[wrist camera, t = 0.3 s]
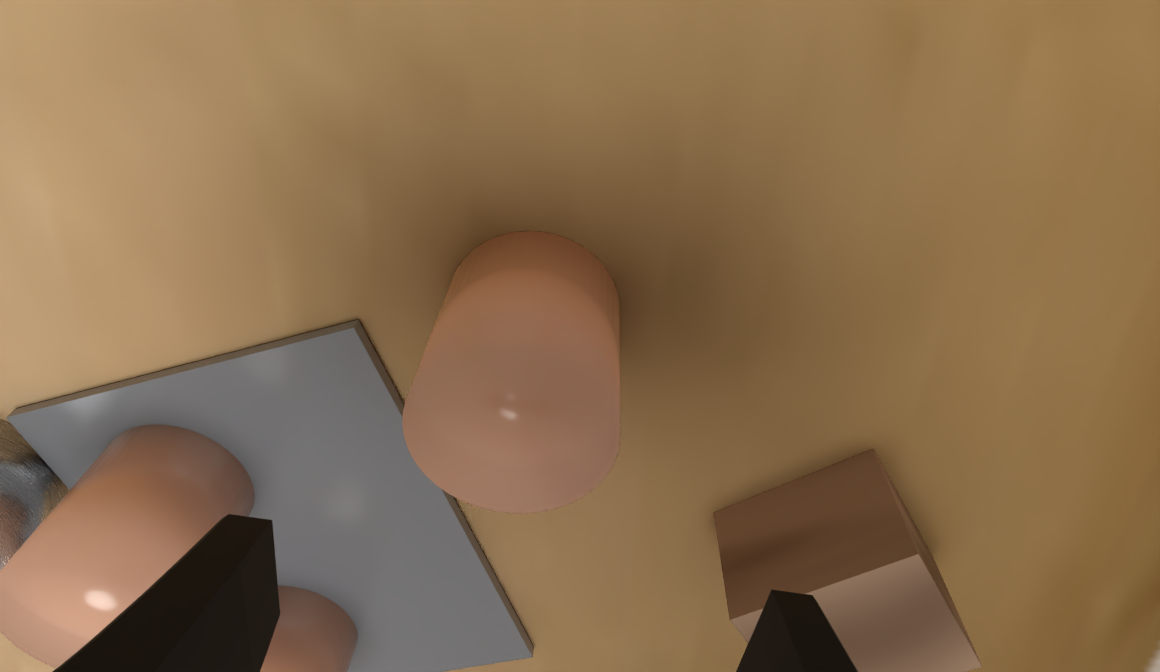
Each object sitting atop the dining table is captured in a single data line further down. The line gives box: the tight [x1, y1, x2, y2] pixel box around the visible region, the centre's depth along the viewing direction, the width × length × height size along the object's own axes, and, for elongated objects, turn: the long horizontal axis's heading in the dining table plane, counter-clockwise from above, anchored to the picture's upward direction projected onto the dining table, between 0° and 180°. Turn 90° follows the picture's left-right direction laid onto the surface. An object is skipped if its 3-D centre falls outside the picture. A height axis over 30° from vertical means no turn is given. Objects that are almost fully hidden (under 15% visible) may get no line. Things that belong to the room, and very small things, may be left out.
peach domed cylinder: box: [0, 424, 255, 668], centre depth 21 cm, size 4×4×5 cm
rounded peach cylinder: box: [402, 231, 620, 513], centre depth 18 cm, size 4×4×5 cm
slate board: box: [6, 320, 534, 672], centre depth 24 cm, size 14×11×1 cm
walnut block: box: [714, 449, 982, 672], centre depth 22 cm, size 5×5×4 cm
